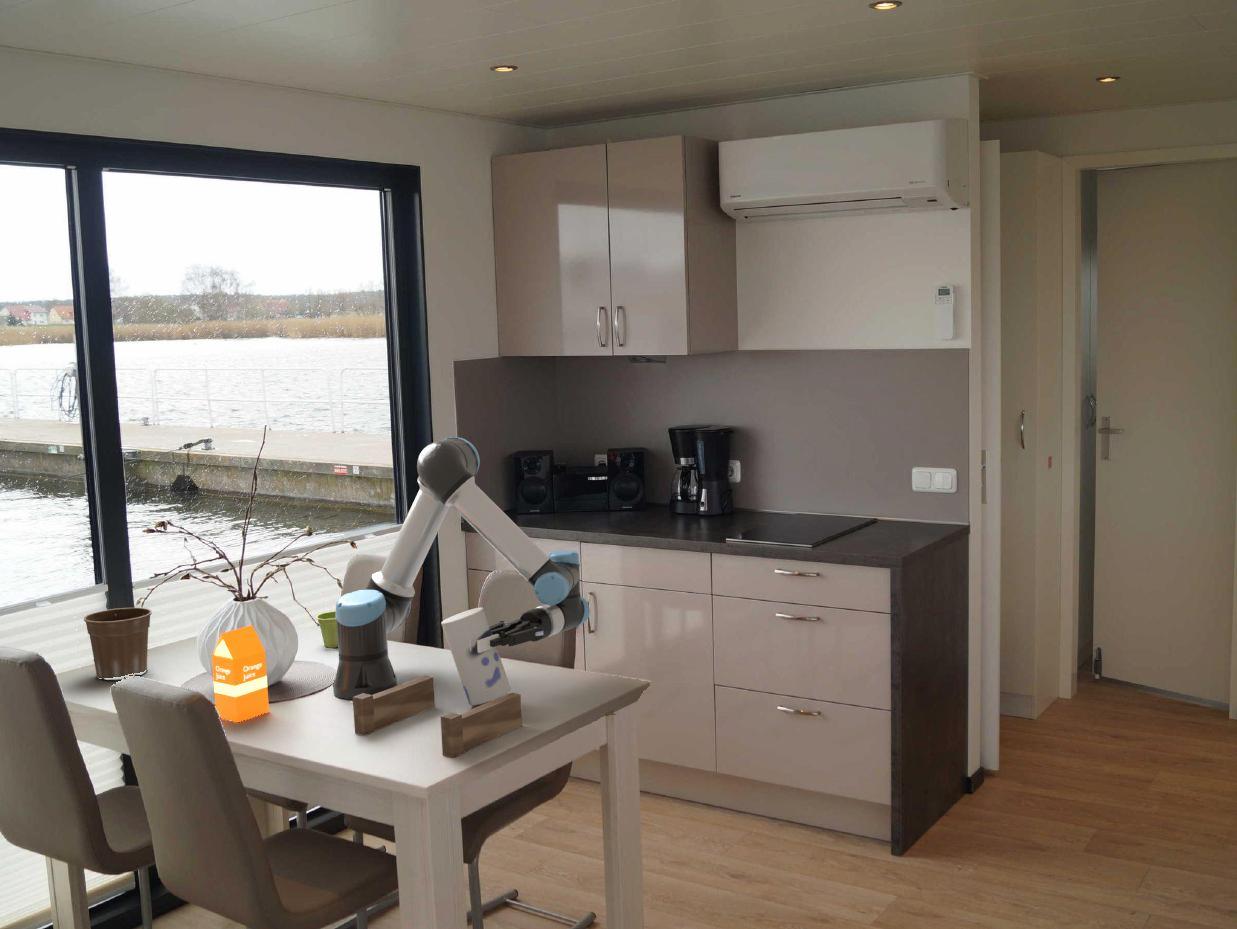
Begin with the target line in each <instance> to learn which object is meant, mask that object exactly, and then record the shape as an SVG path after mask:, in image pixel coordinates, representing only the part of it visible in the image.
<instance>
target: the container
mask: <svg viewBox="0 0 1237 929" xmlns="http://www.w3.org/2000/svg"><path fill="white" fill-rule="evenodd" d="M441 627H442V630H443V632H444V635H445V638H446V641H447V643H448V646H449V649H450V651H451V652H450V653H451V655H452V658H453V660H454V664H455V666H456V669H457V672H458V676H459V678H460V681H461V684H462V687H463V690H464V693H465V696H466V698H467V701H468V704H469V705H470V706H475V705H477V706H479V705H483V704H485V703H488V702H490V701H493V700H495V699H497V698H500V697H502V696H505V695H507V694H509V692H511V689H512V687H511V684H510V682H509V678H508V676H507V674H506V670H505V667H504V664H503V662H502V658H501V656H500V653H499V651H498V650H499V649H498V647H495V648H493V649H490V650H487V651H484V652H481V653H478V651H477V640H480V639H483V638H486V637H489V636H492V632H491V629H490V627H491V626H490V624H489V621H488V617H487V615H486V612H485V610H484V607H482V606H481V607H475V608H472V609H468V610H465V611H463V612H460V613H456V614H454V615H451V616H450V617H447V618H445V619H443V621H441ZM469 639H472V645H471V651H470V644H469Z"/></svg>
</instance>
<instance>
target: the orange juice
mask: <svg viewBox="0 0 1237 929" xmlns="http://www.w3.org/2000/svg"><path fill="white" fill-rule="evenodd" d="M265 651H266V650H265V649H264V645H263V644H262V642H261V640H260V638H259V636H258V634H257V632H256V630H255V628H254V626H253V624H251V625H247V626H244V627H240V628H235V629H233V630H230V631H226V632H223V633H220V636H219V638H218V640H217V643H216V645H215V648H214V650H213V653H212V655H211V661H212V674H213V676H212V677H213V693H214V702H215V704H214V705H215V709H216V708H217V710H218V711H219V714H220V717H222V719H221V720H223V719H227V720H232V721H234V722H233V723H235V722H240V723H242V722H244V721H243V720H245V721H247V720H246V719H248V720H251V719H252V718H251V717H254V718H256V717H259V716H262V715H265V714H268V713H270V706H269V705H270V704H269V691H268V687H269V686H268V675H267V665H266V663H267V662H266V652H265ZM264 713H265V714H264ZM261 714H262V715H261ZM258 715H259V716H258ZM255 716H256V717H255ZM250 718H251V719H250ZM227 720H226V721H227ZM241 721H242V722H241Z"/></svg>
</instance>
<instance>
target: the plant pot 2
mask: <svg viewBox="0 0 1237 929" xmlns="http://www.w3.org/2000/svg"><path fill="white" fill-rule="evenodd" d="M335 613H336V610H334V611H333V610H332V611H327V612H322V613H319V614H317V615H316V616H315V618H316V620H317V622H318V624H319V628H320V632H321V637H322V641H323V646H325V647H326V648H328V649H329V648H333V649H335V648H337V647H338V638H337V624H336V616H335Z"/></svg>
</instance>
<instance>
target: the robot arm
mask: <svg viewBox="0 0 1237 929" xmlns="http://www.w3.org/2000/svg"><path fill="white" fill-rule="evenodd" d="M480 462H481V461H480V456H479V452H478V450H477V448H476V446H474V444H473V443H471V442H470V441H468V440H467V439H465V438H463V437H457V436H456V437H454V436H450V437H446V438H444V439H441V440H439V441H434V442H431V443H429V444H428V445H426V446H425V447H424V448H423V449H422V451H421V452H420V453H419V455H418V458H417V464H416V468H417V469H416V470H417V474H418V477H417V483H418V486H419V489H418V492H417V494H416V495H415V498H414V501H413V502H412V505H411V506H410V509H409V510H408V513H407V515H406V518H405V519H404V522H403V523H402V525H401V527H400V530H399V532H398V534H397V536H396V538H395V540H394V541H393V545H392V547H391V550H390V551H389V553H388V555H387V558H386V559H385V562H384V564H383V566H382V568H381V569H380V570H379V571H377V572H374V573H372V574H371V577H370V579H369V581H368V584H367V586H366V587H365V589H359V590H354V591H352V592H348V593H345V594H343V595H342V596H340V597H339V598H338V599H337V601H336V604H335V611H336V613H335V616H336V624H337V638H338V646H337V647H338V648H337V649H338V652H337V653H338V664H337V670H336V673H335V679H334V681H333V683H332V684H333V685H332V688H333V690H332V691H333V695H335V697H337V698H340V699H345V700H346V699H347V700H353V697H354V696H357V695H360V694H362V693H365V694H369V695H374V694H376V693H379V692H382V691H385V690H387V689H390V688H393V687H396V686H398V678H397V675H396V674H395V671H394V667H393V665H392V663H391V659H390V658H389V651H388V650H389V649H388V635H389V634H390V633H391V632H392V631H394V630H396V629H398V628H399V627H401V625H402V624H404V623H405V621H406V620H407V618H408V616H409V615H410V612H411V605H412V600H413V599H414V596H415V594H416V592H415V589H414V585H413V584H414V582H415V580H416V578H417V576H418V574H419V572H420V570H421V568H422V565H423V564H424V561H425V559H426V557H427V555H428V554H429V550H430V549H431V547H432V544H433V543H434V541H435V538H436V537H437V534H438V532H439V530H440V528H441V525H442V524H443V521H444V519H445V518H446V515H447V514H448V511H449V509H450V507H452V508H453V509H454V510H455V511H456V512H457V513H458V514H459V515H460V516H461V517H462V518H463V519H464V520H465V521H466V522H467V523H468V524H469V525H470V526H471V527H472V528H473V529H474V530H475V531H476V532H477V533H478V534H479V535H480V536H481V537H482V538H483V539H484V540H485V541H486V542H488V544H489V545H491V547H493V549H494V550H495V551H496V552H497V553H498V554H499V555H500V556H501V557H502V558H504V560H505V561H506V562H508V563H509V565H510V566H512V567H513V568H514V570H515V571H517V572H518V574H519V575H520V576H521V577H522V578H524V579H525V581H527V582H528V583H529V585H530V586H531V587H532V588H533V589H534V594H535V597H536V598H537V600H538V601H540V602H541V603H542V604H543V605H539V606H537V607H534V608H531V609H529V610H528V609H527V610H526V611H524V612H522V614H521V616H520V618H519V619H516V620H515V619H514V621H512V622H508V623H506V621H505V620H501V621H499V622H497V623H495V624H493V625H491V626H490V629H491V632H492V636H489V637H486V638H483V639H480V640H477V651H478V653H481V652H484V651H487V650H490V649H493V648H495V647H497V648H498V647H500V646H502V647H504V646H507V645H508V647H514V646H517V645H520V644H521V645H522V644H525V643H527V642H539V641H541V640H543V639H546V638H548V639H549V638H551V637H552V636H554V635H558V634H559V633H563V632H565V631H569V630H571V629H576V628H577V627H579V626H581V625H583V624H585V623H586V622H587V621H588V619H589V618H590V613H591V611H590V606H589V604H588V601H587V600H586V598H585V597H583V596H582V595H581V578H580V576H581V575H580V571H581V570H580V567H581V564H580V558H579V556H580V555H579V553H578V552H577V551H575V550H571V549H568V550H567V549H564V550H563V549H560V550H553V551H551V552H549V554H548V555H547V554H546V553H545V552H544V551H543V550H542V549H541V548H540V546H538V545H537V544H536V543H535V541H533V540H532V539H531V538H530V537H529V536H528V535H527V534H526V533H525V532H524V531H523V530H522V529H521V528H520V527H519V526H518V525H517V524H516V523H515V522H514V521H513V520H512V519H511V518H510V517H509V516H508V515H507V514H506V513H505V512H504V511H503V510H502V509H501V508H500V507H499V506H498V505H497V504H496V503H495V502H494V501H493V500H492V499H491V498H490V497H489V495H487V494H486V493H485V492H484V491H483V490H482V489H481V488H480V487H479V486H478V485H477V484H476V482H475V481H476V479H475V476H476V475H477V473H478V471H479V468H480V464H481V463H480ZM469 644H470V651H471V645H472V639H469Z"/></svg>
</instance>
